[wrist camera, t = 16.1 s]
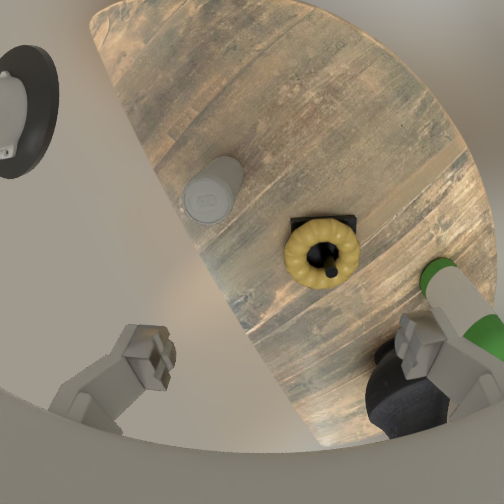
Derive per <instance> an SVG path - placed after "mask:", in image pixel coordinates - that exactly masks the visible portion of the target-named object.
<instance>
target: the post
mask: <svg viewBox="0 0 504 504" xmlns="http://www.w3.org/2000/svg"><path fill="white" fill-rule="evenodd" d="M327 218H332V219H335V220H337V221H339V222H341V223H343V224H345V225H347V226H349V227H350V228H351V229H352V230H353V232H354V234H355V235H356V220H357V218H356V217H355V215H344V216H323V217H304V218H291V219H290V221H291V235H292V233H293V232H294V230H295V229H297V228H299V227H300V226H302V225H303V224H305V223H307V222H308V221H310V220H313V219H327ZM338 252H339V250H338V248H337V247H336V245H334V244H332V243H330V242H319V243H317V244H315V245H314V246H312V247H311V248H310V250H309V251H308V253H307V261H308V262H309V264H310V265H311V266H314V267H316V268H324V271H325V274H326V276H327V277H328V278H334V277H336V276H337V274H338V269H337V266H336V264H335V261H336V259H337V258H338ZM352 274H353V273H352Z"/></svg>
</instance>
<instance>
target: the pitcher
mask: <svg viewBox="0 0 504 504" xmlns="http://www.w3.org/2000/svg"><path fill="white" fill-rule="evenodd" d="M374 361H375V364H376V365H377V366H376V368H375V369H374V371H373V373H372V375H371V377H370V379H369V381H368V384H367V388H366V394H365V402H366V409H367V413H368V417H369V420H370V422H371V423H373V424H374V425H376V426H377V427H379V428H380V429H382V430H383V431H384V432H385V433H386V435H387V436H388V437H389V439H394V438H398V437H402V436H406V435H410V434H414V433H417V432H421V431H424V430H428V429H431V428H434V427H437V426H440V425H443V424H446V423H447V412H448V406H449V401H450V398H449V397H448V396H446V395H445V394H444V393H443V392H442V391H441V390H440V389H439V388H438V387H437V386H436V385H435V384H433V383H432V382H431V381H430V380H429V379H428V378H427V376H424V377H420V378H415V379H410V380H406V378H405V375H404V372H403V370H402V367H401V365H402V362H403V360H402V359H401V358H399V357H398V356H397V353H396V350H395V338H394V339H391V340H389V341H388V342H386V343H385V344H383V345H382V346H381V347H380V348H379V349H378V351H377V352H376V355H375V358H374Z"/></svg>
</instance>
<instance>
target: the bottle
mask: <svg viewBox="0 0 504 504" xmlns="http://www.w3.org/2000/svg"><path fill="white" fill-rule="evenodd" d="M420 287H421V290H422V293H423V294H424V296H425V297H426V299H427V301H428V302H429V304H430V306H431V307H432V308H437V307H439V308H441V309H442V310H443V312H444V313H445V315H446V316H447V318H448V319H449V321H450V323H451V324H452V326H453V327H454V329H455V331H456V332H457V334H458V336H459V337H464V338H466V339H467V340H469V341H471V342H472V343H474V344H476V345H477V346H479V347H481V348H482V349H484V350H485V351H487V352H489V353H490V354H492V355H493V356H495V357H497V358H498V359H500V360H501V361H503V362H504V324H503V323H502V321H501V320H500V318H498V315H497V314H496V313H495V311H494V310H493V309H492V307H491V306H490V305H489V304H488V302H487V301H486V300H485V298H484V297H483V296H482V295H481V293H480V292H479V291H478V290H477V288H476V287H475V286H474V285H473V284H472V282H471V281H470V280H469V279H468V278H467V277H466V275H465V274H464V273H463V272H462V271H461V270H460V269H459V268H458V267H457V265H456V264H455V263H454V262H452V261H451V260H449V259H446V258H441V259H437V260H435V261H433V262H432V263H430V264H429V265H428V266H427V267H426V269H425V270H424V272H423V274H422V276H421V280H420Z"/></svg>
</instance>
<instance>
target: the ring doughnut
mask: <svg viewBox="0 0 504 504" xmlns="http://www.w3.org/2000/svg"><path fill="white" fill-rule="evenodd" d="M319 242H330V243H332V244H334V245H336V247H337V248H338V250H339V252H338V258H337V259H336V261H335V264H336V266H337V269H338V274H337V276H336V277H334V278H328V277H327V276H326V274H325V271H324V268H316V267H314V266H311V265H310V264H309V262H308V261H307V253H308V251H309V250H310V248H311V247H312V246H314V245H315V244H317V243H319ZM284 257H285V267H286V269H287V271H288V272H289V273H290V275H291V276H292V277H293V279H294V280H295V281H296V282H297V283H299V284H301V285H303V286H306V287H308V288H311V289H329V288H333V287H335V286H337V285H339V284H341V283H343V282H344V281H346V280H348V279H349V278H350V276H351V275H352V273H353V272H354V270H355V269H356V268H357V266H358V264H359V259H360V243H359V241H358V239H357V237H356V235H355V234H354V232H353V230H352V229H351V228H350V227H349V226H347V225H345V224H343V223H341V222H339V221H337V220H335V219H332V218H327V219H313V220H310V221H308V222H307V223H305V224H303V225H302V226H300V227H299V228H297V229H295V230H294V232H293V233H292V235H291V237H290V238H289V240H288V242H287V244H286V245H285V248H284Z"/></svg>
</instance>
